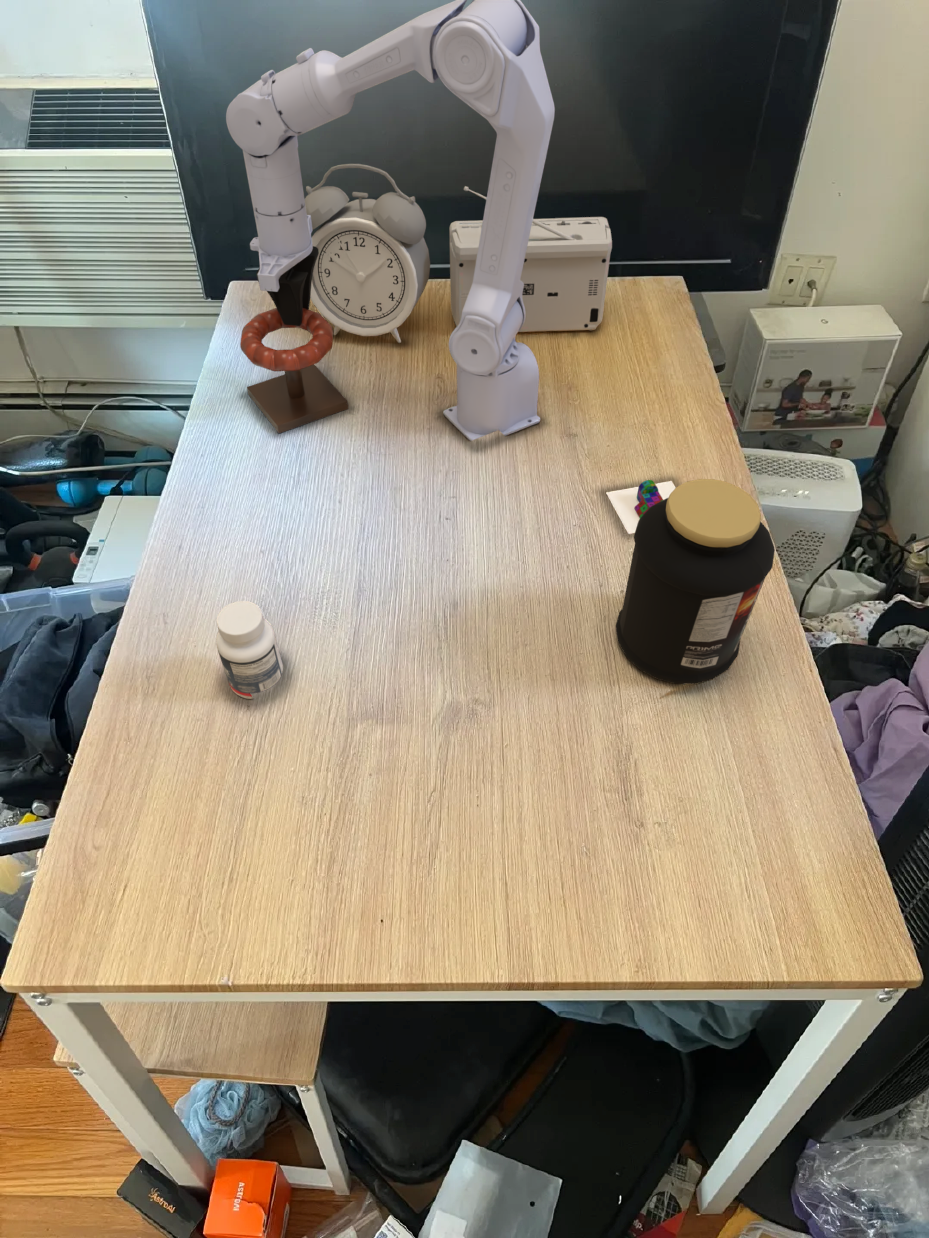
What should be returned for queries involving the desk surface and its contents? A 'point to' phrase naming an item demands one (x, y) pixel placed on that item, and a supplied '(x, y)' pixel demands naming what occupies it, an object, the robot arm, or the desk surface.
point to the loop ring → (290, 357)
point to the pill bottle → (248, 649)
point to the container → (693, 581)
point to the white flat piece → (638, 501)
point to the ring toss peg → (297, 398)
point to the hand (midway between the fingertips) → (296, 316)
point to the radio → (545, 271)
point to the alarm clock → (367, 257)
